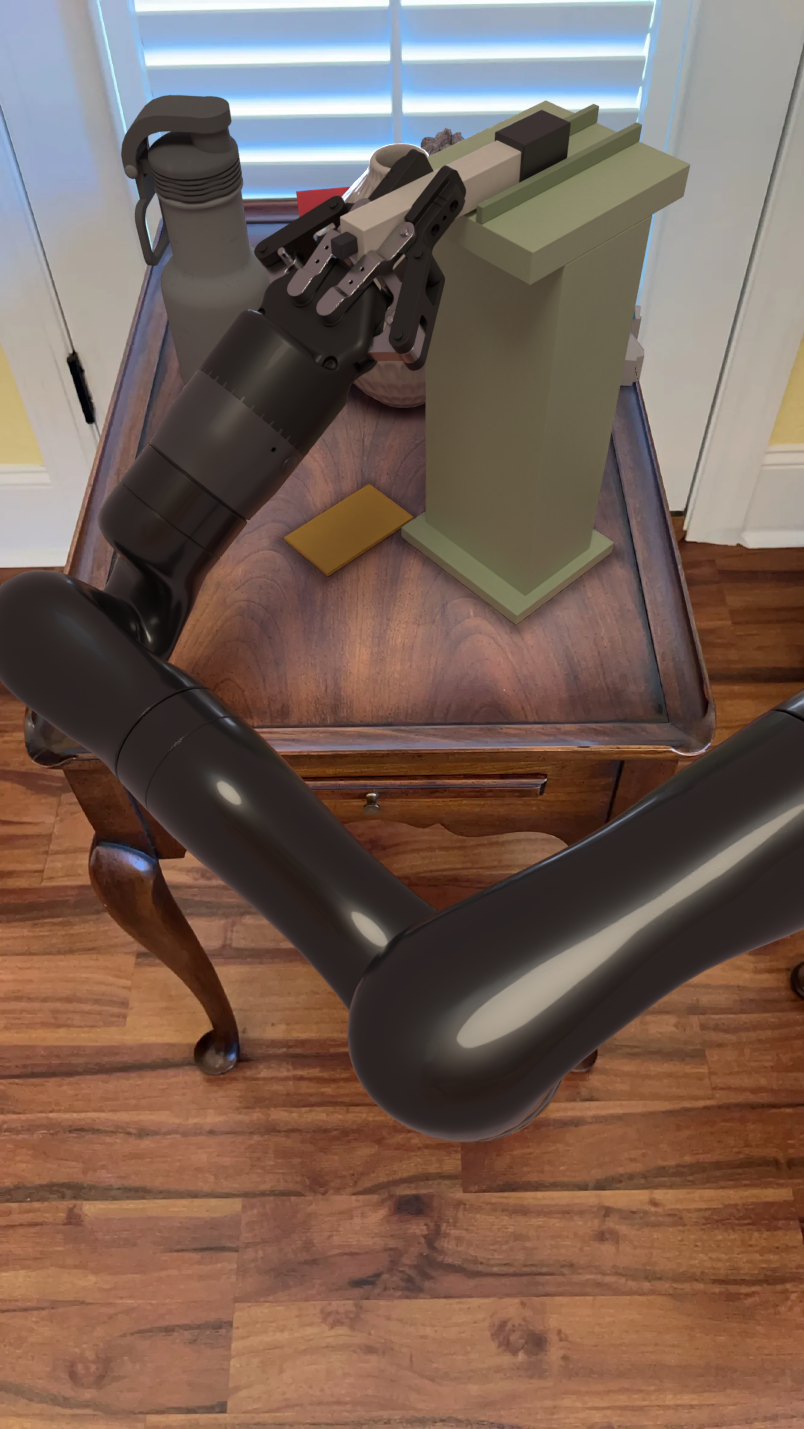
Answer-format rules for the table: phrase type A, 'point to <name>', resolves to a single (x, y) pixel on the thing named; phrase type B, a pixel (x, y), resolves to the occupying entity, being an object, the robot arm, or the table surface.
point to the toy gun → (633, 352)
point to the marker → (481, 172)
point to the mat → (348, 529)
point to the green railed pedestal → (534, 361)
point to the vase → (387, 377)
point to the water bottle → (195, 219)
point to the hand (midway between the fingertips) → (440, 170)
